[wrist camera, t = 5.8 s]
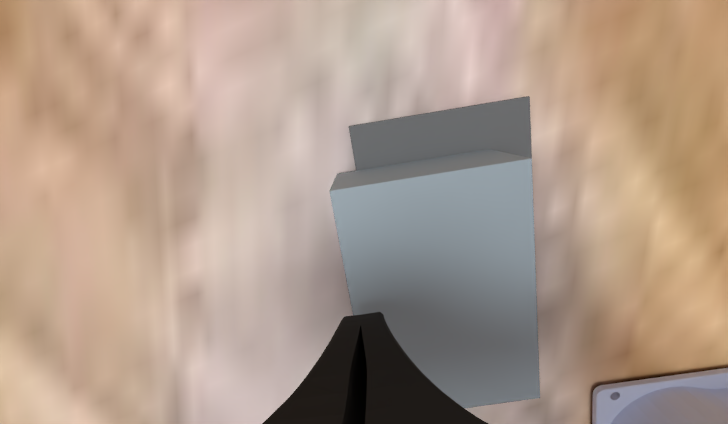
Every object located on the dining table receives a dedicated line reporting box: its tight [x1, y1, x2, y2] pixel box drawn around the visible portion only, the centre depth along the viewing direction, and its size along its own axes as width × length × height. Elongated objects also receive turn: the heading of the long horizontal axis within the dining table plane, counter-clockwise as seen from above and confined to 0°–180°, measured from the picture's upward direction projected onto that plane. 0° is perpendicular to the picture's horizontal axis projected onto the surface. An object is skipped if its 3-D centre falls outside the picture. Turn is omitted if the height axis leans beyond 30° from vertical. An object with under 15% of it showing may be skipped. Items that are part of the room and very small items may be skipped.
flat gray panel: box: [349, 96, 539, 354], centre depth 17 cm, size 8×14×1 cm, turn 9°
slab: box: [330, 149, 540, 408], centre depth 15 cm, size 4×10×7 cm
